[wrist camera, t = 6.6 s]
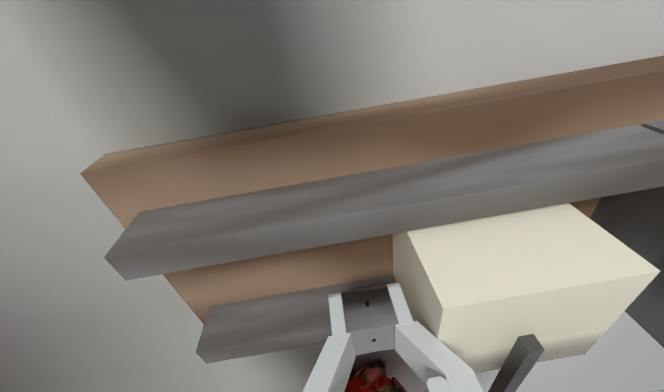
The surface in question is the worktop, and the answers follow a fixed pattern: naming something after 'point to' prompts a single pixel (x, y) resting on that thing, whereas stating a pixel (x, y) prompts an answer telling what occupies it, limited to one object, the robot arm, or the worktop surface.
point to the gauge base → (381, 196)
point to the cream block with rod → (518, 286)
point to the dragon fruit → (373, 380)
